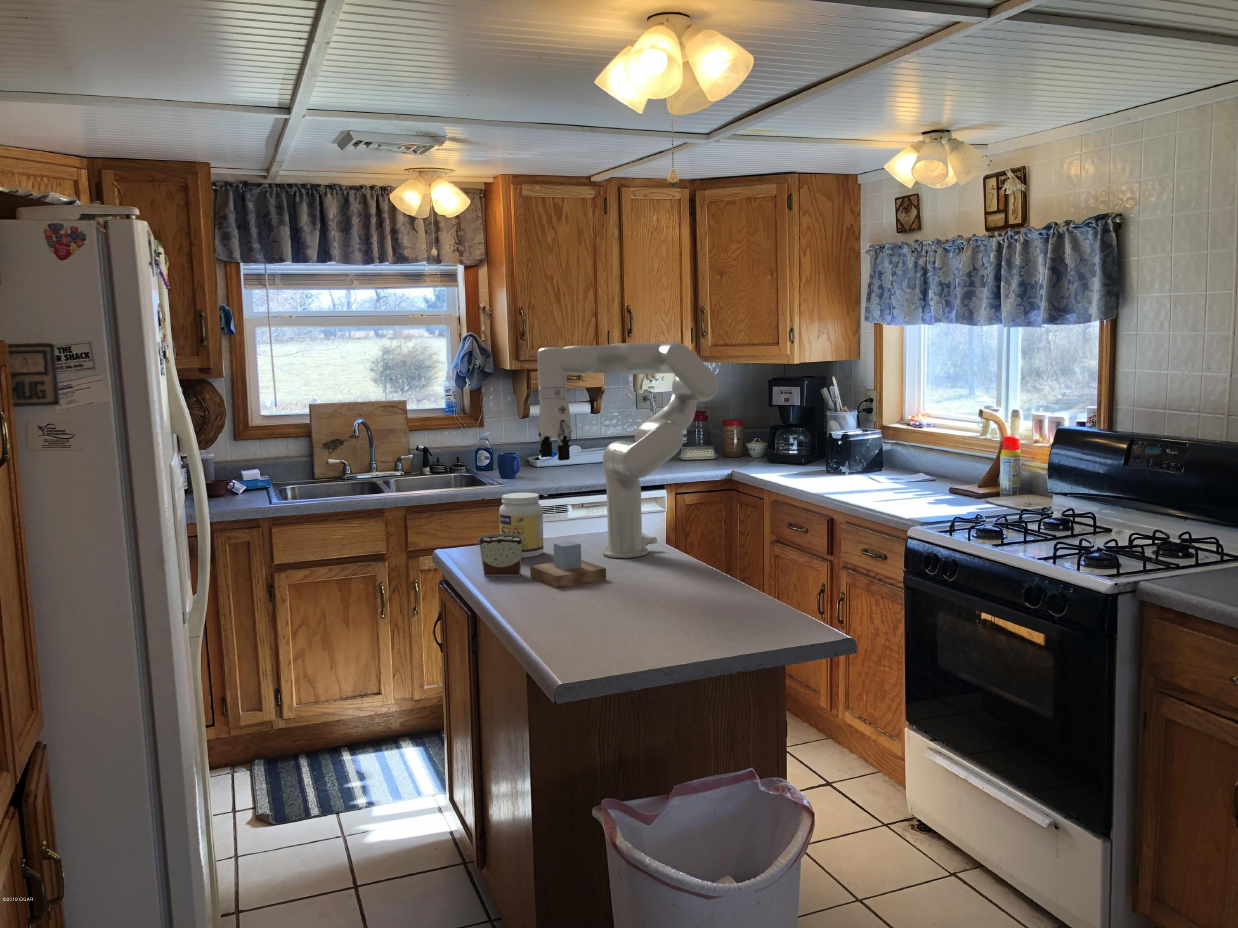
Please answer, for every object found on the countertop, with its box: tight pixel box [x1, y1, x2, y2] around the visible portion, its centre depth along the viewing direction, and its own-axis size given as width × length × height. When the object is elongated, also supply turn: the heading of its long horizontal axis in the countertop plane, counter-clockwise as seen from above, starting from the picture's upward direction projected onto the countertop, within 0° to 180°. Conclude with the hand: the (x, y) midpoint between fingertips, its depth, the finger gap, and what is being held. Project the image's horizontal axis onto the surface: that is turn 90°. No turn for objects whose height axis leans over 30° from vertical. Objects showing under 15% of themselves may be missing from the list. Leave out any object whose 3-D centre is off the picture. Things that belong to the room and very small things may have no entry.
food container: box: [476, 532, 525, 577], centre depth 257 cm, size 12×6×10 cm, turn 84°
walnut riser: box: [529, 559, 607, 589], centre depth 249 cm, size 14×14×3 cm
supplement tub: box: [498, 492, 545, 559], centre depth 279 cm, size 12×12×17 cm
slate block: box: [553, 540, 582, 570], centre depth 248 cm, size 5×5×6 cm
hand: (555, 458), depth 264 cm, fingers open, 9 cm apart
